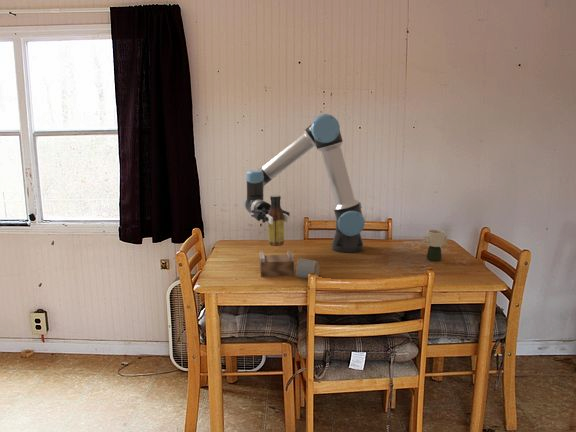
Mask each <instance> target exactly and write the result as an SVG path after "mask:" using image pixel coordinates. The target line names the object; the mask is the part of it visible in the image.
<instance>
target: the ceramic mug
mask: <svg viewBox="0 0 576 432" xmlns="http://www.w3.org/2000/svg"><path fill="white" fill-rule="evenodd" d="M320 266H321V265H320V263H319V261H317V260H312V259H306V258H301V257H300V258H298V260H297V262H296V267H295V277H296V278H298V279H306V280H307V278H308V274H310V273H314V274H316V275H317V276H318V277H319V274H320V269H321V268H320Z"/></svg>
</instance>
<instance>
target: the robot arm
mask: <svg viewBox="0 0 576 432" xmlns="http://www.w3.org/2000/svg"><path fill="white" fill-rule="evenodd" d="M341 133H342V132H341V129H340V123H339V120H338V119H337V118H336V117H335V116H333V115H332V114H328V113H324V114H320V115H318V116H316V117H315V118H314V119H313V121H312V123H310V125H308V126H307V127H306V128H305V129H304V132H303V133H302V134H301V135H300V136H298V138H296V139H295V140H293V142H291V143H290V144H289V145H287V147H285V148H283V149H282V150H281V151H280V152H279V153H278V154H276V155H275V156H274V157H273V158H271V159H270V160H269V161H268V162H266V163H265V164H263V165H262V167H260V168H258V170H256V169H255V170H248V171H247V172H246V179H245V180H246V199H245V201H244V205H243V206H244V208H245V209H246V211H247V212H248V213H249V214H251V215H250V216H251V218H254V219H255V220H256V221H257V222H260V221H262V223H263V224H265V223H266V222H267V223H270V224H273V217H271V216H270V215H268V211H269V210H270V208H271V203H269V202H267V201H265V200H264V188H265V186H266V185H267V184H268V183H269V182H271V181H272V180H273V179H274V178H276V177H277V176H278V175H279V174H281V173H282V172H283V171H285V170H286V169H287V168H289V167H290V166H291V165H292V164H293V163H295V162H296V161H297V160H299V159H300V158H301V157H303V156H304V155H305V154H306V153H308V152H309V151H311V150H312V149H313V148H314V147H315V148H316V150H318V151H319V152H320V153H321V155H322V158H323V162H324V166H325V170H326V173H327V176H328V177H327V178H328V180H329V184H330V185H329V186H330V188H331V192H332V195H333V199H334V202H335V203H334V204H335V205H334V207H333V211H334V216H335V234H334V237H333V239H332V241H331V249H332V250H333V251H335V252H340V253H358V252H362V251H363V250H364V241H363V238H362V235H361V232H362V231H363V229H364V228H365V223H366V221H365V220H366V219H365V217H364V216H363V212H362V203H361V202H360V201H359V200H357V199H356V198H355V196H354V192H353V187H352V185H351V181H350V176H349V173H348V170H347V167H346V162H345V159H344V155H343V151H342V147H341V146H342V145H343V142H344V140H343V137H342V134H341ZM282 211H283V218H284V223H287V224H290V223H291V221H290V219H291V218H290V217H291V215H290V212H289V211H287V210H284V209H282Z"/></svg>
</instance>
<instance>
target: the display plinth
mask: <svg viewBox="0 0 576 432" xmlns="http://www.w3.org/2000/svg"><path fill="white" fill-rule="evenodd" d="M286 251H287V254H264V251H259V273H260V277H261V278H270V277H275V278H276V277H294V276H295V271H294V270H295V257H294V254H293V252H292V250H286Z"/></svg>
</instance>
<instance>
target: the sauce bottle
mask: <svg viewBox="0 0 576 432" xmlns="http://www.w3.org/2000/svg"><path fill="white" fill-rule="evenodd" d="M269 197H270V205H271V208H270V210H269V211H268V215H270V216H271V217H273V224H270V223H268V222H267V223H268V224H267V226H268V227H267V228H268V230H267V231H268V244H269V246H271V247H281V246H283V245H284V243H285V221H284V218H283V211H282V210H283V208H282V207H281V198H282V197H281V195H279V194H278V195H277V194H274V195H270V196H269Z"/></svg>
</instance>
